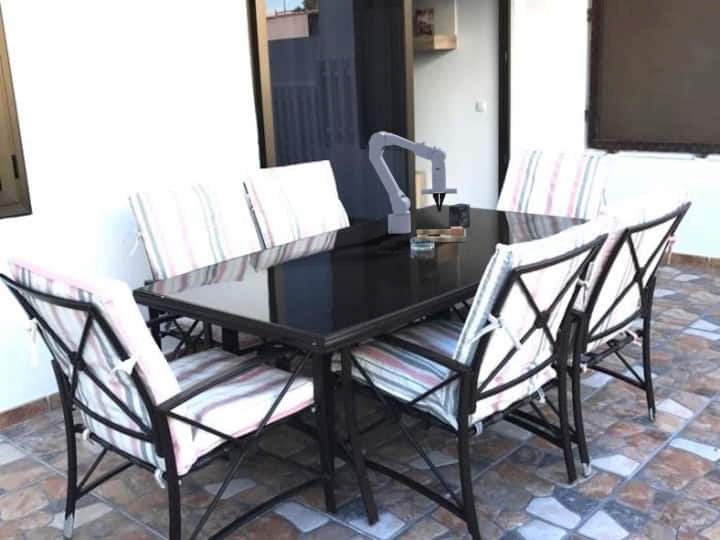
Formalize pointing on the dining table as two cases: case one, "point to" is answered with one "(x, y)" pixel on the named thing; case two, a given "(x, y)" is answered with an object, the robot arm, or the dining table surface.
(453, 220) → the box
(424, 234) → the tray
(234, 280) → the dining table surface
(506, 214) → the dining table surface
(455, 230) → the block
